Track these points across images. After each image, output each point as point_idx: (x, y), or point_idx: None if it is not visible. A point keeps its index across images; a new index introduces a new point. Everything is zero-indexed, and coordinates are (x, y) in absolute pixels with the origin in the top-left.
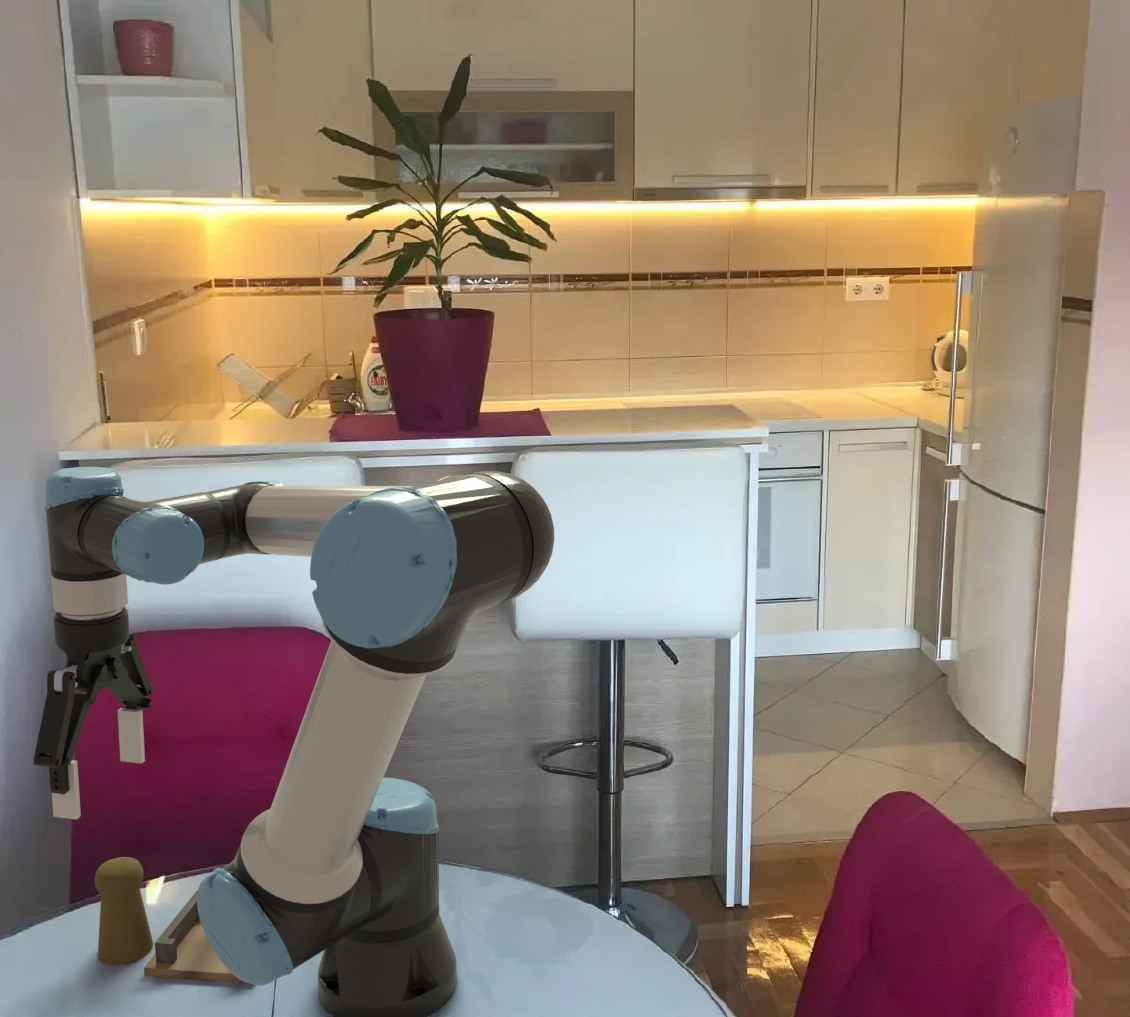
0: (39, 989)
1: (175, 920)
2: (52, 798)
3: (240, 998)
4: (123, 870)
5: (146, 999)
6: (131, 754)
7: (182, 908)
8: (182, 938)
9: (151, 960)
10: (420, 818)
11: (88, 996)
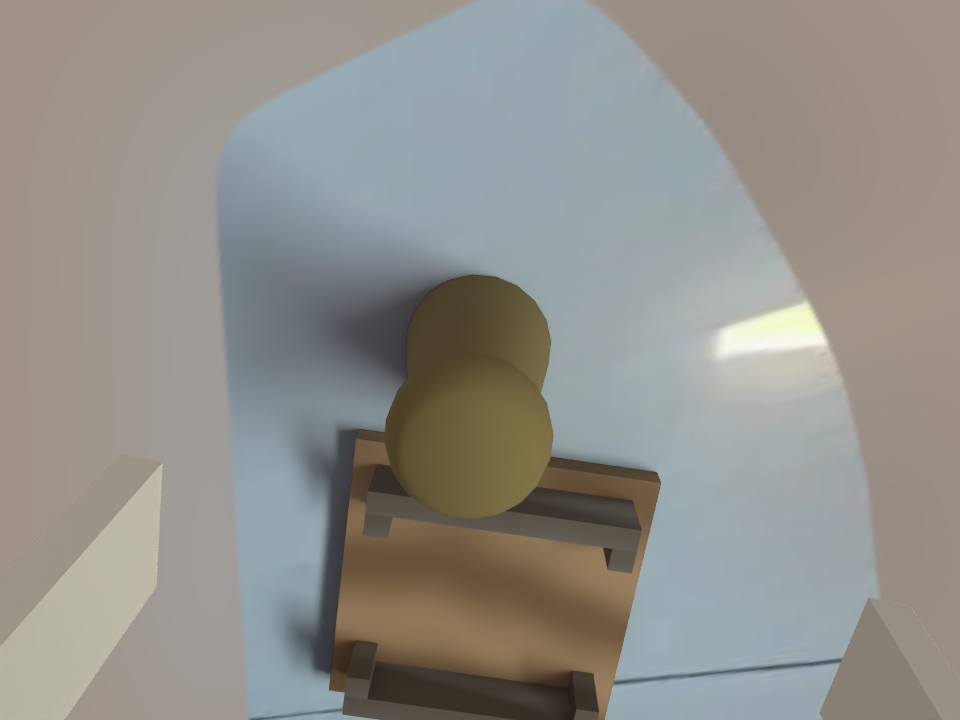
0: (296, 176)
1: None
2: (58, 520)
3: (279, 654)
4: (422, 488)
5: (266, 461)
6: (863, 700)
7: (544, 516)
8: None
9: None
10: None
11: (271, 319)
